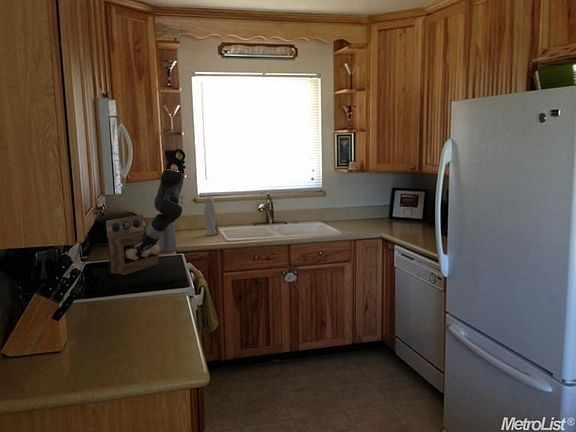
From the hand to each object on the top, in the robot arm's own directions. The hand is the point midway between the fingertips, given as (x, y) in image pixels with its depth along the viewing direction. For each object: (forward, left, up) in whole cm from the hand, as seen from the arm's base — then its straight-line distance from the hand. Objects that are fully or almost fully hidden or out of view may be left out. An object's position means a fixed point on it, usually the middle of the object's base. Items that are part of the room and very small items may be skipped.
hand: (137, 255), depth 242 cm
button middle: (-4, +6, -2) cm, 8 cm away
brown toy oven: (-10, +6, -9) cm, 15 cm away
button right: (-4, +13, -2) cm, 14 cm away
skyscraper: (-37, +98, -9) cm, 105 cm away
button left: (-4, 0, -2) cm, 5 cm away
